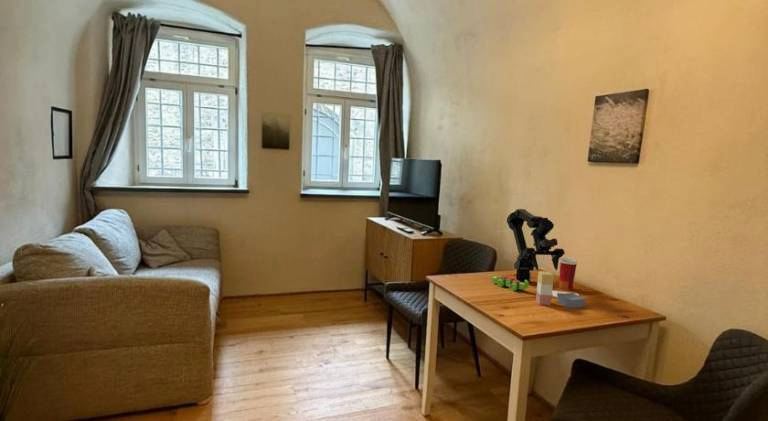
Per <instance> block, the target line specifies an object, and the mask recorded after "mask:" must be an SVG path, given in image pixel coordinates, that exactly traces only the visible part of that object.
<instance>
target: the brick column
mask: <svg viewBox="0 0 768 421" xmlns="http://www.w3.org/2000/svg"><path fill="white" fill-rule="evenodd" d="M537 275H538V276H537V283H536V284H537V285H536V296H535V303H537V304H538V305H539V306H551V305H552V298H553V295H552V291H553V289H554V288H553V286H554V280H555V279H554V278H555V274H554V273H552V272H551V271H543V270H539V271H538V274H537Z"/></svg>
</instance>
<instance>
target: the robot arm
mask: <svg viewBox="0 0 768 421" xmlns="http://www.w3.org/2000/svg"><path fill="white" fill-rule="evenodd" d="M525 222H526V226H528V228H529V229H533V230H532V232H531V233H530V236H532V238H533V242H534V243H533V247H528V245H527V242H526V238H525V234H524V232H523V231H524V230H523V226H524V223H525ZM506 223H507V225H508V228H509V229H510V230H511V231H512V232H513V236H514V240H515V245H516V249H517V251H518V255H517V257H516V261H515V262H514V264H513V268H514V269H515V270H516V275H515V276H516V277H515V280H516V279H517V280H519V281H520V282H522V283H525V280H527V281H528V282H529V283H530V281H531V276H532V275H531V274H532V272H533V271H534V269H535V270H536V271H538V270H539V264H538V261H537V256H538V255H540V256H541V255H542V256H548V255H549V256H551V262H552V264H553V268H554V269H555V271H557V270H558V269H559V268H558V267H559V261H560V259H561V258H563V256H564V255H565V254H566V252H565V250H564V249H563V248H555V247H556V246H558V239H557V238H551V239H548V238H547V235H548V234H549V233H550V232H551V231H552V230H553V229H554V227H555V224H554V223H553V221H552V220H550V219H549V218H548V217H543V216H538V215H534V214H532V213H531V212H529V211H527V209H525V208H518V209H516V210H515V211H514V212H511V213H510V214H508V216H507V218H506ZM534 247H535V248H534ZM552 248H554V249H553V250H552ZM531 271H532V272H531Z"/></svg>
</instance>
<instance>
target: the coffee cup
mask: <svg viewBox="0 0 768 421" xmlns="http://www.w3.org/2000/svg"><path fill="white" fill-rule="evenodd" d="M558 263H559V278H558V279H559V281H558V283H559V284H558V286H559V287H558V288H559V289H561V290H564V291H572V289H573V286H574V282H575V276H576V271H577V265H578V261H577V260H576V259H574V258H572V257H561V258H559V261H558Z"/></svg>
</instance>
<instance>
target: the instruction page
mask: <svg viewBox="0 0 768 421" xmlns="http://www.w3.org/2000/svg"><path fill="white" fill-rule="evenodd" d="M564 293H568V292H566V291H561V290H560V291H559V290H552V298H553V297H554V298H558V294H564ZM574 294H576V295H578V296H580V295H579V293H574Z"/></svg>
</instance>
